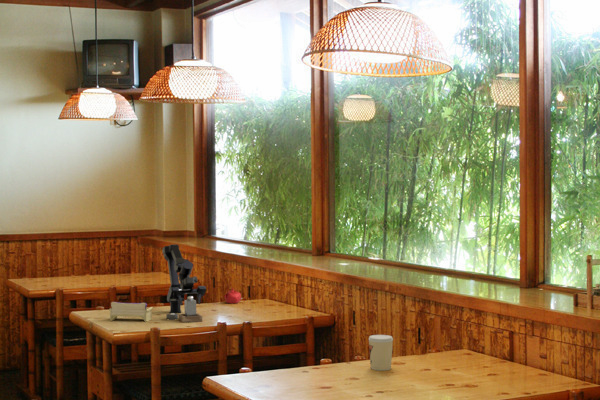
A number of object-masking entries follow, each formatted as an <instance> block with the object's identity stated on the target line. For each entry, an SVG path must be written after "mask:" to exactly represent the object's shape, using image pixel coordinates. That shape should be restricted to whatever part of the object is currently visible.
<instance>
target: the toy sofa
mask: <svg viewBox="0 0 600 400" xmlns="http://www.w3.org/2000/svg"><path fill="white" fill-rule="evenodd" d="M110 306H111V307H110V308H109V309H108V310H109V311H110V313H109V321H111V322H112V321H114V320H117V319H118V317H134V318H135V317H136V318H141V319H142V320H143V321H144V322H145V323H146V321H147V322H149V321H151V320H152V310H153V306H150V307H148V308H147V306H148V304H147V303H146V302H139V303H138V302H118V301H112V302H110Z"/></svg>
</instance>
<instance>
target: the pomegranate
mask: <svg viewBox="0 0 600 400" xmlns="http://www.w3.org/2000/svg"><path fill="white" fill-rule="evenodd" d="M241 299H242V294H241V292H239V291H237V289H234V287H231V289H229V290H227V291H226V293H225V295H224V300H225V302H226V303H227V304H230V305H231V304H232V305H233V304H234V305H235V304H239V303H240V302H241Z"/></svg>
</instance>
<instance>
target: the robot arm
mask: <svg viewBox="0 0 600 400" xmlns="http://www.w3.org/2000/svg"><path fill="white" fill-rule="evenodd" d="M161 251H162V255H163V258H164V259H165V261H166V262H167V265H168V273H169V275H168V276H169V280H170V286H169V289H168V292H167V296H166V301H167V303H169V304H170V306H169V307H170V309H169V314H170V313H174V314H182V306H183V305H184V303H183V302H184V300H185V295H187V294H189V295H191V294H196V301H197V304H198V305H200V304H201V299H202V297H204V296H205V295H206V292H207V287H206V286H205V285H198V286H197V288H195V287H194V286H195V285H194V284H197V283H198V282H199V281H198V277H197V276H193V277H191V276H190V275H191V274H192V271H193V267H194V264H193V262H192V261H190V260H189V259H185V258H184V257H183V256H182V253H181V250H180V245H179V244H176V243H175V244H169V245H164V246H163V247H162V250H161ZM193 288H194V289H193Z"/></svg>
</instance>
